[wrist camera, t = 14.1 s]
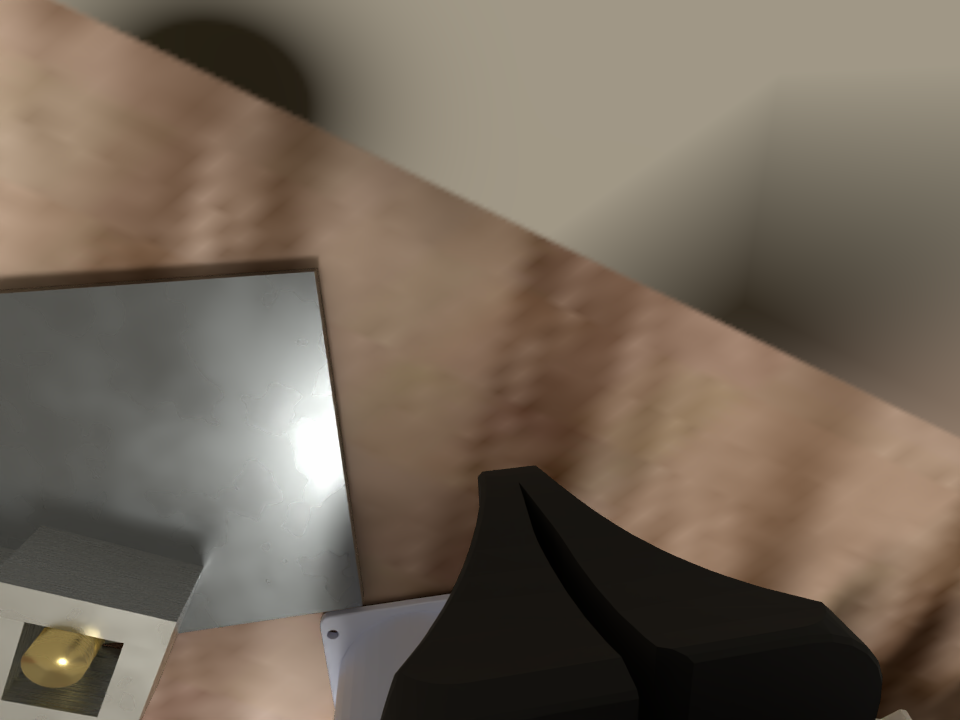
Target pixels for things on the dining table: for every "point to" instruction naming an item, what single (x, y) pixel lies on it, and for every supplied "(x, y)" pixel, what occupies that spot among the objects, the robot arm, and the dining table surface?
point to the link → (89, 622)
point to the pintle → (59, 657)
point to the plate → (184, 435)
